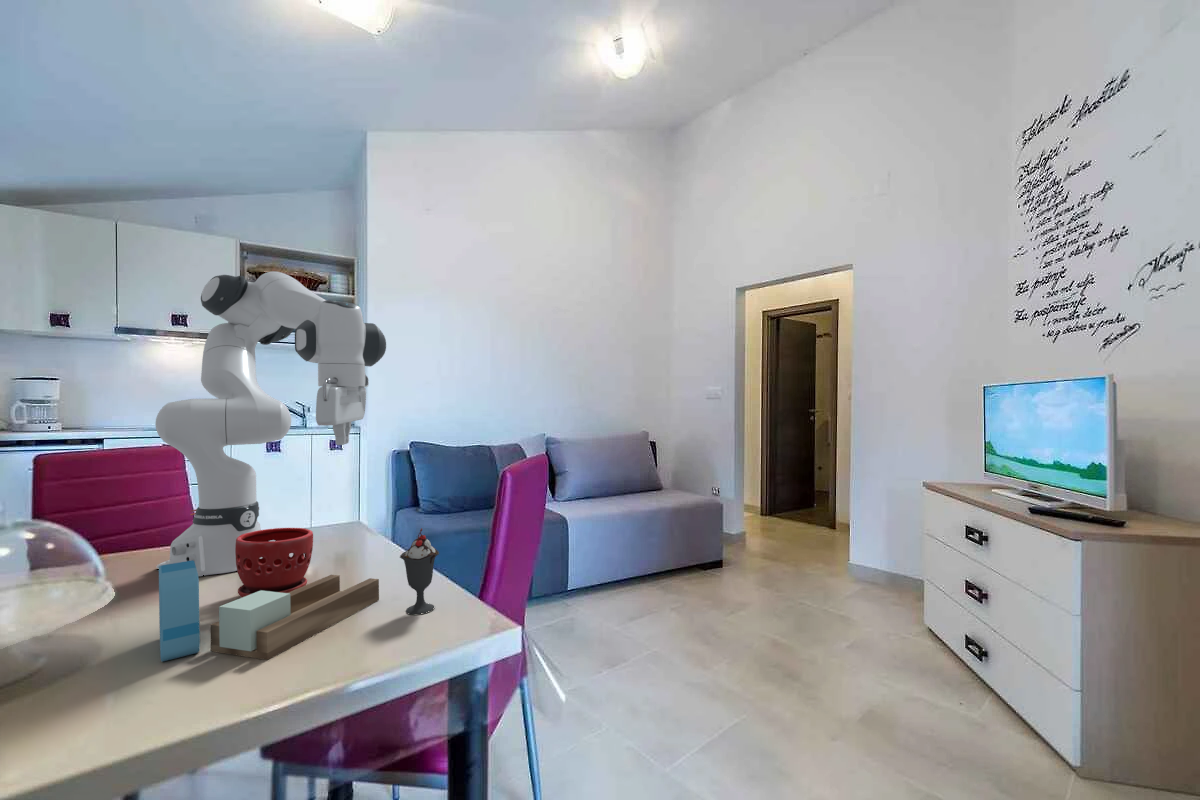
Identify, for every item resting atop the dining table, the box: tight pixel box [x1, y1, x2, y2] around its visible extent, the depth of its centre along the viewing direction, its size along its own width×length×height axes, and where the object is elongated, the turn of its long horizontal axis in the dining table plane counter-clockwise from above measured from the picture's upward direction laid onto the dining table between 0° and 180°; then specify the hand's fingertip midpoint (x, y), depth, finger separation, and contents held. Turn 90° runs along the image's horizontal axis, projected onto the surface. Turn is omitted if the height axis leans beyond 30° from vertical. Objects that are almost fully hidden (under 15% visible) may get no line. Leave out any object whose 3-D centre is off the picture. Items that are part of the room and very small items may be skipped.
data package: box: [158, 560, 201, 663], centre depth 83 cm, size 12×4×12 cm, turn 40°
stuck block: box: [218, 590, 291, 651], centre depth 82 cm, size 6×7×6 cm
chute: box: [209, 574, 380, 661], centre depth 91 cm, size 11×24×4 cm, turn 164°
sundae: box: [399, 528, 440, 615], centre depth 96 cm, size 7×7×15 cm
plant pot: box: [235, 527, 314, 598], centre depth 105 cm, size 13×13×12 cm
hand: (342, 444), depth 112 cm, fingers closed
